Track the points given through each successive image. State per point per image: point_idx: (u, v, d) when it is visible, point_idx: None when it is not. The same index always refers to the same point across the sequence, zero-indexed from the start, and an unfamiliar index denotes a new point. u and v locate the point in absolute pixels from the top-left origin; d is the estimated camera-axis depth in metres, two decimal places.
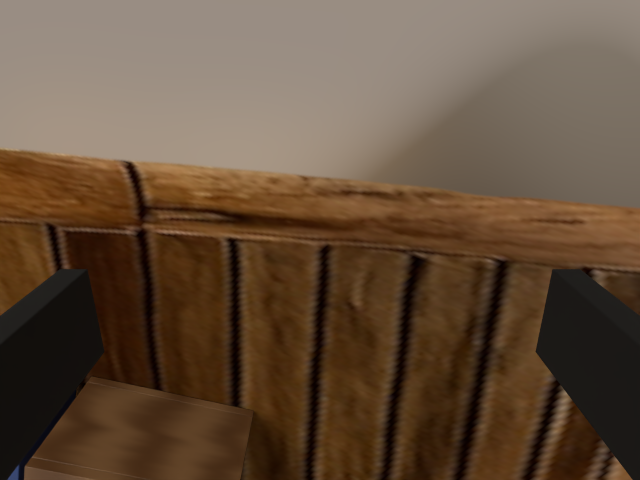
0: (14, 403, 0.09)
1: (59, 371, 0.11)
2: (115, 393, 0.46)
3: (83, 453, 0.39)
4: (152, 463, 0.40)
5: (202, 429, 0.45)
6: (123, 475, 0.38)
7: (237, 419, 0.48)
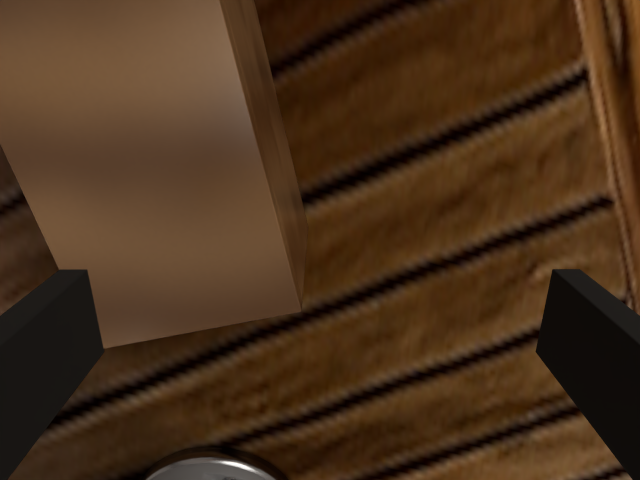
0: (15, 403, 0.09)
1: (59, 371, 0.11)
2: (250, 0, 0.25)
3: None
4: (264, 132, 0.20)
5: (289, 178, 0.26)
6: (247, 91, 0.18)
7: (302, 215, 0.29)
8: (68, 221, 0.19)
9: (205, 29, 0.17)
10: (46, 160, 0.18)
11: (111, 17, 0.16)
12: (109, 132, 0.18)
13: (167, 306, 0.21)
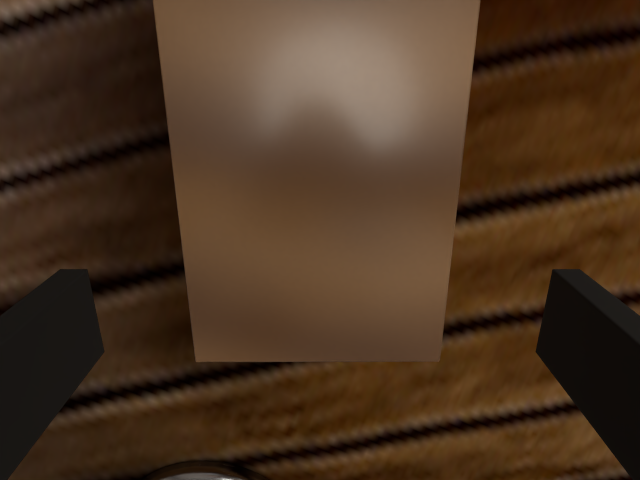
0: (14, 404, 0.09)
1: (59, 371, 0.11)
2: None
3: None
4: None
5: None
6: None
7: None
8: (214, 214, 0.16)
9: (452, 36, 0.14)
10: (214, 140, 0.15)
11: None
12: (300, 125, 0.15)
13: (294, 329, 0.18)
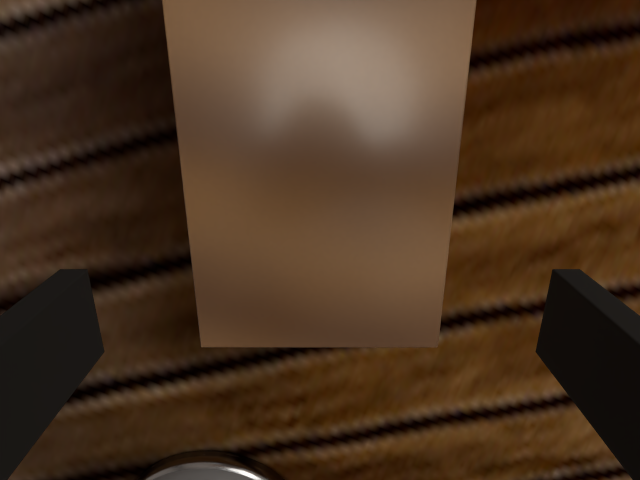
0: (15, 403, 0.09)
1: (59, 371, 0.11)
2: None
3: None
4: None
5: None
6: None
7: None
8: (220, 202, 0.17)
9: (449, 30, 0.15)
10: (220, 131, 0.16)
11: None
12: (302, 116, 0.16)
13: (297, 315, 0.19)
